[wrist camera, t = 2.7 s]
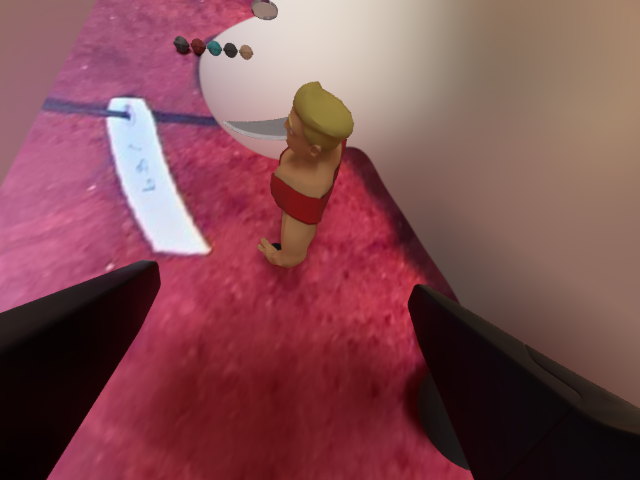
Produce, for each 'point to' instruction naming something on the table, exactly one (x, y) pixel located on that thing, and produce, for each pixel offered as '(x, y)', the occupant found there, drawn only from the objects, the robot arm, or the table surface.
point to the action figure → (307, 170)
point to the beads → (212, 48)
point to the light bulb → (438, 422)
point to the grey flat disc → (264, 10)
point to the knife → (261, 129)
